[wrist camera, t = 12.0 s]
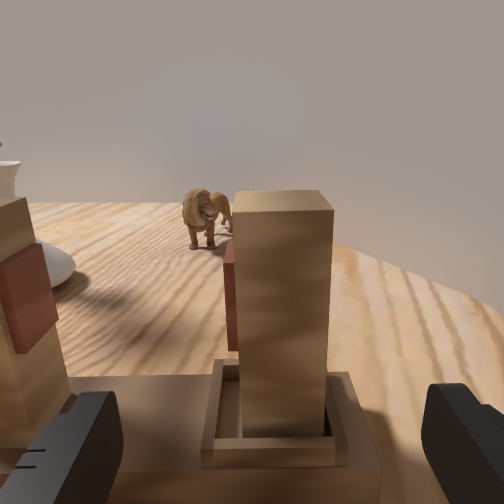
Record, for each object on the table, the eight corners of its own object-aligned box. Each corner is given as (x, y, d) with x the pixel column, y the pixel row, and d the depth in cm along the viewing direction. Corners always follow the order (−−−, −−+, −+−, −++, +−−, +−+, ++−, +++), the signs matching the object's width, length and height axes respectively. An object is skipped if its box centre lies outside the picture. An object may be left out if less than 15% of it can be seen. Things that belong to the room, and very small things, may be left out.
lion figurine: (218, 259, 51) (213, 191, 48) (178, 258, 51) (172, 191, 48) (237, 227, 64) (235, 172, 61) (206, 226, 65) (202, 172, 62)
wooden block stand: (-69, 512, 19) (-194, 232, 14) (13, 409, 26) (-52, 193, 21) (377, 505, 19) (412, 217, 14) (345, 403, 25) (361, 182, 20)
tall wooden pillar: (232, 445, 19) (219, 212, 15) (236, 391, 23) (226, 192, 19) (322, 444, 19) (333, 209, 15) (311, 389, 23) (318, 189, 19)
